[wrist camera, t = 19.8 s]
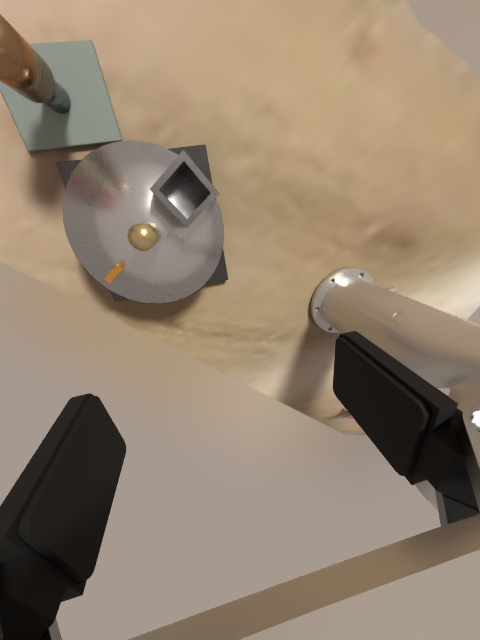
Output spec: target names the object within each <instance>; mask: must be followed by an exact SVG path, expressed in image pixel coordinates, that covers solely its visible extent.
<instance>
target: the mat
mask: <svg viewBox="0 0 480 640" xmlns="http://www.w3.org/2000/svg"><path fill="white" fill-rule="evenodd" d="M29 45H30V46H31V47H32V48H33V49H34V50H35V51H36V52H37V53H38V54H39V55H40V56H41V57H42V58H43V59H44V60H45V62H46V63H47V64H48V66H49V68H50V69H51V72H52V74H53V77H54V80H55V81H56V82H57V83H59V84H60V85H61V86H62V87H63V88H64V89H65V90H66V92H67V93H68V95H69V97H70V100H71V108H70V110H69V111H68V112H67V113H65V114H60V113H57V112H55V111H54V110H52V109H51V108H50V107H48V106H47V105H45V104H44V103H35V102H32V101H30V100H28V99H26V98H24V97H23V96H22V95H20V94H19V93H17V92H16V91H14V90H13V89H11V88H10V87H8V86H7V85H6V84H4V83H3V82H1V81H0V91H1V93H2V95H3V97H4V99H5V101H6V104H7V106H8V108H9V110H10V112H11V114H12V117H13V119H14V121H15V123H16V125H17V127H18V130H19V132H20V134H21V136H22V138H23V140H24V143H25V145H26V147H27V149H28V151H30V152H35V151H44V150H53V149H61V148H70V147H78V146H87V145H96V144H104V143H113V142H119V141H122V137H121V134H120V131H119V127H118V124H117V121H116V117H115V114H114V111H113V107H112V104H111V101H110V97H109V94H108V91H107V87H106V84H105V81H104V77H103V74H102V71H101V68H100V64H99V61H98V58H97V54H96V51H95V48H94V44H93V42H92V41H91V40H87V41H71V42H56V43H41V44H29Z"/></svg>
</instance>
